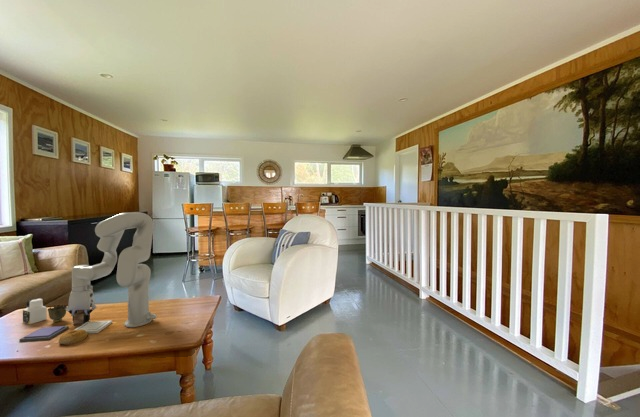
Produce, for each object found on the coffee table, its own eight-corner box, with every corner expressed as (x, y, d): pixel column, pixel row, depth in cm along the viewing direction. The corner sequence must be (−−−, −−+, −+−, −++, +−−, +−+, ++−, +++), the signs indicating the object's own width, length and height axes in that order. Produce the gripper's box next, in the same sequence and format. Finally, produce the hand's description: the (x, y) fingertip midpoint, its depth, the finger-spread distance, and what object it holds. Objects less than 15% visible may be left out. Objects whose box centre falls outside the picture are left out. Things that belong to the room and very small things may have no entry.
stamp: (88, 321, 147) (88, 307, 147) (83, 324, 142) (83, 310, 142) (79, 321, 146) (79, 307, 146) (73, 325, 141) (73, 311, 141)
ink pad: (68, 328, 138) (68, 325, 138) (49, 339, 126) (49, 336, 126) (41, 329, 136) (41, 326, 136) (19, 341, 124) (19, 338, 124)
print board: (112, 322, 145) (112, 320, 145) (97, 333, 133) (97, 330, 133) (87, 324, 143) (87, 321, 143) (70, 334, 131) (70, 332, 131)
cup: (54, 325, 141) (54, 310, 141) (44, 323, 143) (44, 309, 143) (70, 319, 149) (70, 305, 149) (60, 318, 150) (60, 304, 150)
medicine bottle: (22, 322, 145) (22, 300, 144) (40, 317, 151) (40, 296, 151) (29, 324, 142) (29, 302, 142) (47, 319, 148) (46, 297, 148)
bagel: (93, 333, 132) (93, 324, 132) (77, 345, 122) (76, 335, 121) (71, 335, 131) (70, 325, 131) (52, 347, 120) (52, 337, 120)
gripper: (103, 285, 149) (103, 318, 149) (68, 286, 146) (68, 320, 146) (94, 289, 142) (94, 323, 142) (57, 291, 139) (57, 326, 139)
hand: (81, 321), depth 144 cm, fingers closed on stamp, 4 cm apart
